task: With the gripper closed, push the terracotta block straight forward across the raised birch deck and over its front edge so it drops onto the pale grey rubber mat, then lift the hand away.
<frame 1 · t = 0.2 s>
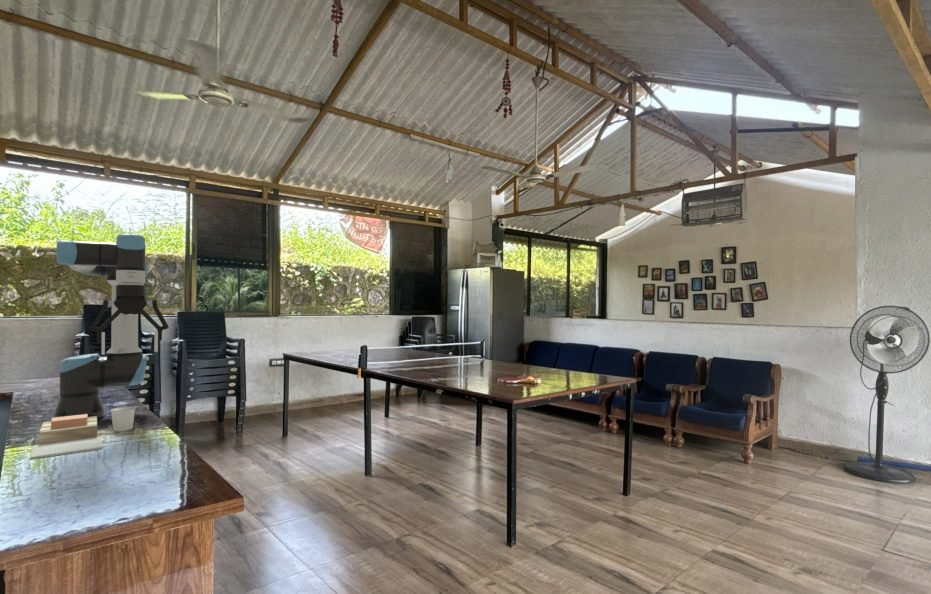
hand: (130, 352, 153), 28 cm above the table, tool pointing down, fingers open, 13 cm apart
shot glass: (123, 429, 169), on the table
birch deck: (69, 436, 160), on the table
grey mat: (67, 448, 147), on the table
terracotta block: (69, 424, 159), point 4 cm above the table, touching birch deck
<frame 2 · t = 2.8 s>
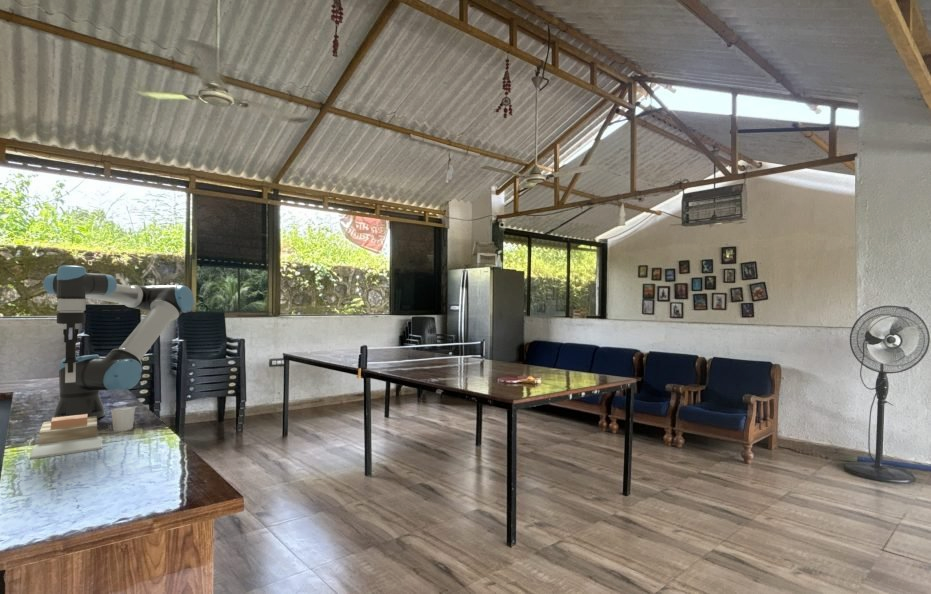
hand: (70, 382, 166), 16 cm above the table, tool pointing down, fingers closed
nothing on the table moved.
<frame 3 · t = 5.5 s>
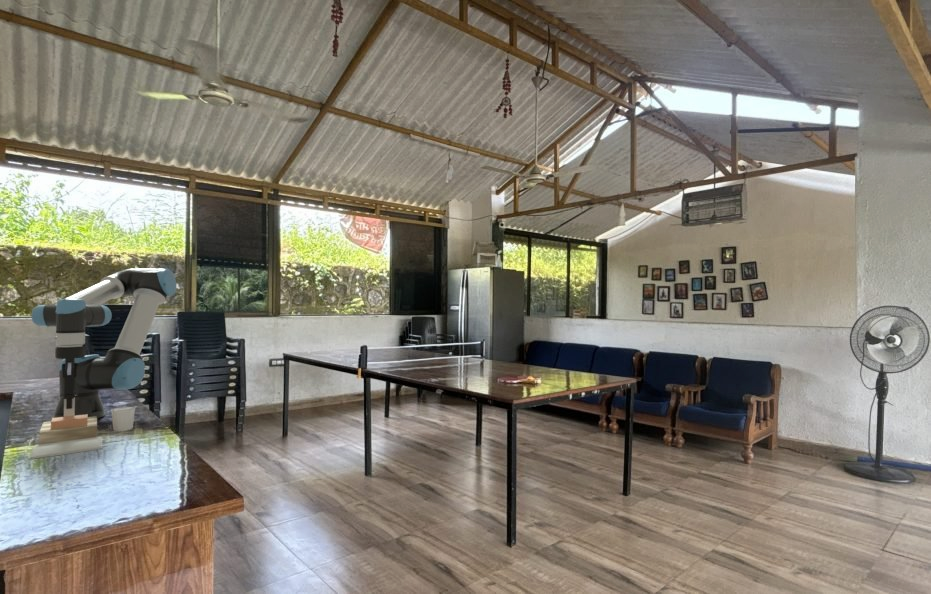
hand: (69, 418, 161), 5 cm above the table, tool pointing down, fingers closed
terracotta block: (69, 424, 159), point 4 cm above the table, touching birch deck, gripper
everything else where it was.
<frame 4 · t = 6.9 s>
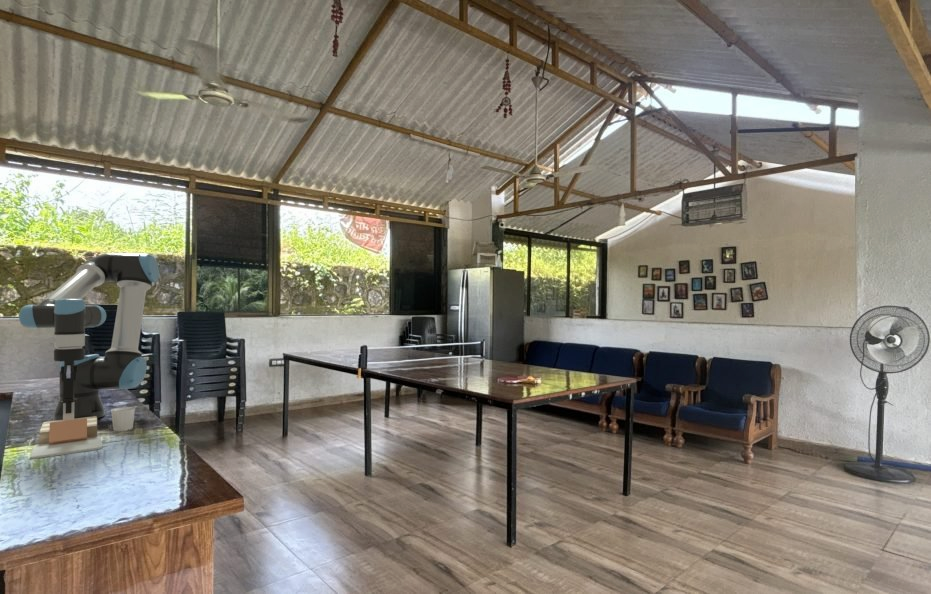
hand: (68, 423, 155), 5 cm above the table, tool pointing down, fingers closed
terracotta block: (68, 432, 153), point 3 cm above the table, tilted 60°, touching grey mat
everything else where it was.
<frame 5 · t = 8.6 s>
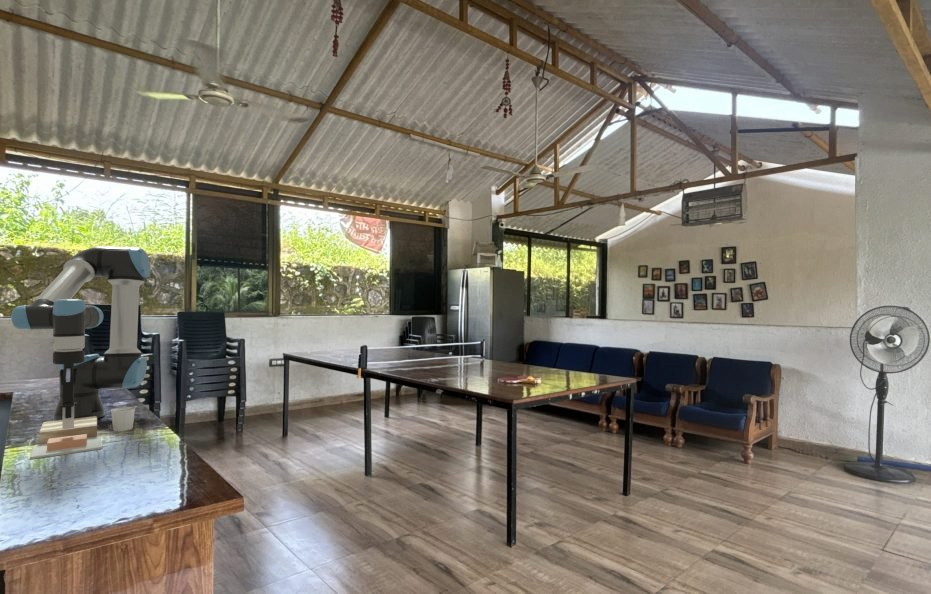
hand: (68, 428, 150), 5 cm above the table, tool pointing down, fingers closed
terracotta block: (67, 438, 147), point 3 cm above the table, tilted 180°, touching grey mat
everything else where it was.
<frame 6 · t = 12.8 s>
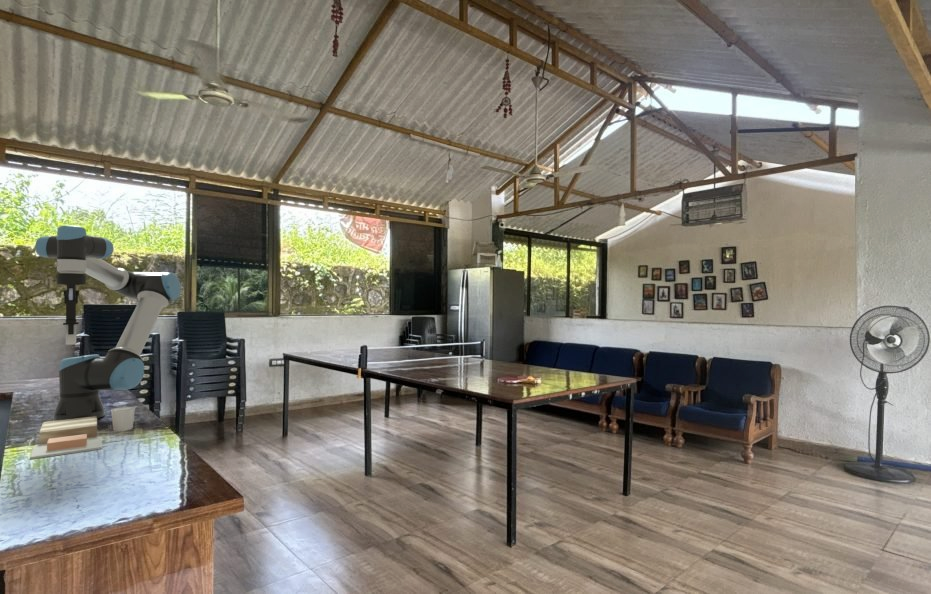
hand: (70, 344, 163), 29 cm above the table, tool pointing down, fingers closed
nothing on the table moved.
at the end: terracotta block inside the target area on the grey mat (0.3 cm from its centre), point 2.8 cm above the grey mat's base; terracotta block touching grey mat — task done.
